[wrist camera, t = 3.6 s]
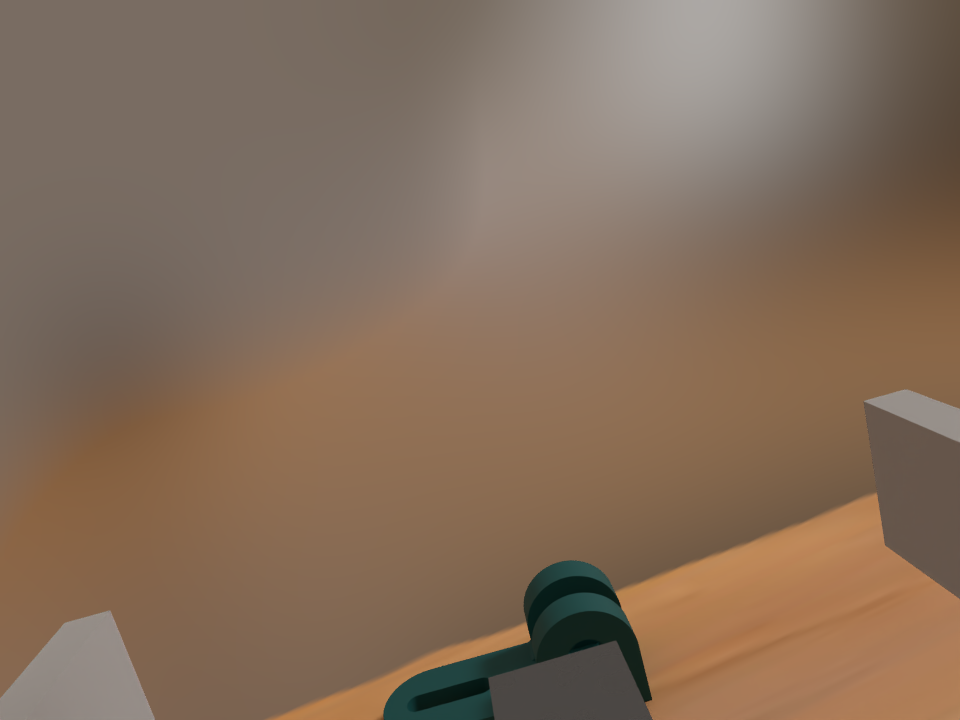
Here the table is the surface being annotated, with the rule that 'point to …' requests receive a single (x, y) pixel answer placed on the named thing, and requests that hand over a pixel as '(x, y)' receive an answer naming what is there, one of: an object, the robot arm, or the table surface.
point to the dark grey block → (570, 689)
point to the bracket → (527, 646)
